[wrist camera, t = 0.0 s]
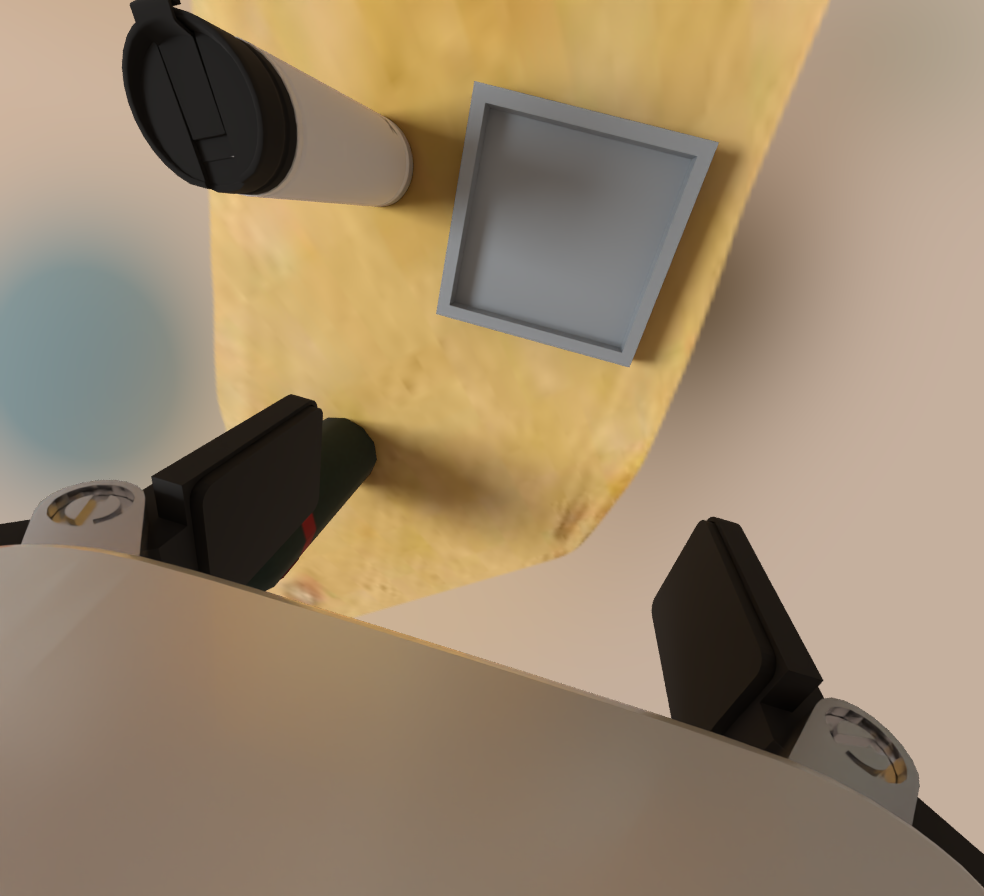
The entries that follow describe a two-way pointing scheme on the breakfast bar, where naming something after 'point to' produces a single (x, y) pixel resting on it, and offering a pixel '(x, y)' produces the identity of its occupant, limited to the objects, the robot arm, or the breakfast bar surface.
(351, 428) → the wine bottle
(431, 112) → the breakfast bar surface
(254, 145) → the travel mug
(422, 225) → the breakfast bar surface
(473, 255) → the tray
